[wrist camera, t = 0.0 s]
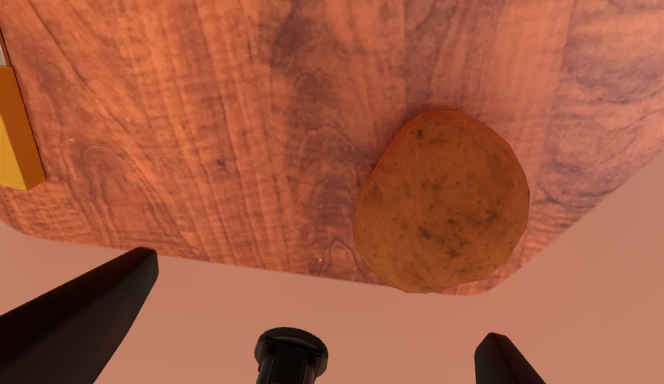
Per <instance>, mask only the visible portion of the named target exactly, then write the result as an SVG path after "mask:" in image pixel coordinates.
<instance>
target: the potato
mask: <svg viewBox="0 0 664 384" xmlns="http://www.w3.org/2000/svg"><path fill="white" fill-rule="evenodd" d="M529 198H530V191H529V187H528V184H527V180H526V176H525V173H524V171H523V169H522V167H521V165H520V164H519V162H518V160H517V158H516V156H515V154H514V153H513V151H512V149H511V147H510V145H509V144H508V143H507V142H506V141H505V140H504V139H503V138H501V137H500V136H499V135H498V134H497V133H496V132H494V131H493V130H492V129H491V128H489V127H487V126H485V125H484V124H482V123H480V122H478V121H476V120H475V119H473V118H471V117H469V116H467V115H466V114H464V113H462V112H460V111H458V110H442V111H425V112H421V113H420V114H419V115H417V116H416V117H415V118H413V119H412V120H411V121H409V122H408V123H407V124H405V125H404V126H403V127H402V128H401V129H400V131H399V132H398V133H397V135H396V136H395V138H394V139H393V140H392V142H391V143H390V145H389V146H388V148H387V149H386V151H385V152H384V154H383V155H382V157H381V158H380V160H379V162H378V163H377V165H376V166H375V168H374V169H373V171H372V173H371V174H370V176H369V177H368V179H367V180H366V182H365V184H364V186H363V188H362V190H361V192H360V195H359V199H358V202H357V206H356V209H355V214H354V223H353V236H354V243H355V245H356V247H357V249H358V251H359V254H360V256H361V258H362V260H363V262H364V263H365V265H366V266H367V268H368V269H369V270H371V271H372V272H373V273H374V274H375V275H377V276H378V277H379V278H380V279H381V280H382V281H384V282H385V283H386V284H388V285H389V286H392V287H394V288H396V289H399V290H401V291H404V292H406V293H424V294H426V293H431V292H435V291H439V290H443V289H446V288H449V287H453V286H456V285H459V284H463V283H468V282H473V281H478V280H482V279H483V278H485V277H486V276H488V275H489V274H491V273H492V272H494V271H495V270H496V269H498V268H499V267H500V266H502V265H503V264H504V263H506V262H507V260H508V259H509V257H510V255H511V253H512V251H513V250H514V248H515V246H516V244H517V243H518V241H519V239H520V238H521V236H522V234H523V233H524V231H525V229H526V227H527V220H528V213H529Z"/></svg>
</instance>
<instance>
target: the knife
mask: <svg viewBox="0 0 664 384" xmlns="http://www.w3.org/2000/svg"><path fill="white" fill-rule="evenodd" d="M45 180H46V177H45V174H44V170H43V167H42V164H41V160H40V157H39V154H38V151H37V147H36V144H35V141H34V137H33V134H32V131H31V127H30V124H29V121H28V117H27V114H26V111H25V107H24V104H23V101H22V98H21V94H20V91H19V88H18V84H17V81H16V78H15V74H14V71H13V68H12V66H11V65H10V61H9V58H8V55H7V52H6V48H5V45H4V42H3V38H2V35H1V32H0V185H3V186H8V187H12V188H16V189H20V190H24V191H28V190H30V189H32V188H33V187H35V186H37V185H38V184H40V183H42V182H43V181H45Z"/></svg>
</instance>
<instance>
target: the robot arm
mask: <svg viewBox="0 0 664 384" xmlns="http://www.w3.org/2000/svg"><path fill="white" fill-rule="evenodd" d="M158 273H159V269H158V259H157V252H156V251H155V250H154V249H150V248H146V247H137V248H135V249H133V250H131V251H129V252H127V253H125V254H123V255H121V256H119V257H117V258H115V259H113V260H111V261H109V262H107V263H105V264H103V265H101V266H99V267H97V268H95V269H93V270H91V271H89V272H87V273H85V274H83V275H81V276H79V277H77V278H75V279H73V280H71V281H69V282H67V283H65V284H63V285H61V286H59V287H57V288H55V289H53V290H51V291H49V292H47V293H45V294H43V295H41V296H39V297H37V298H35V299H33V300H31V301H29V302H27V303H25V304H23V305H21V306H19V307H17V308H15V309H13V310H11V311H9V312H7V313H5V314H3V315H1V316H0V384H93V383H94V382H95V380H96V379H97V377H98V376H99V374H100V373H101V372H102V370H103V369H104V367H105V366H106V364H107V363H108V361H109V360H110V358H111V357H112V355H113V354H114V352H115V351H116V350H117V348H118V347H119V345H120V344H121V342H122V341H123V339H124V337H125V336H126V334H127V333H128V331H129V329H130V328H131V326H132V324H133V322H134V320H135V319H136V317H137V315H138V313H139V311H140V309H141V307H142V306H143V304H144V302H145V300H146V298H147V296H148V294H149V293H150V291H151V289H152V287H153V285H154V283H155V282H156V280H157V277H158ZM323 358H324V351H322V350H320V349H315V348H311V347H307V346H303V345H299V344H295V343H291V342H287V341H282V340H278V339H274V338H270V337H265V338H264V340H263V344H262V349H261V355H260V361H259V367H258V372H259V375H258V378H257V382H256V384H314V382H315V379H316V377H317V374H318V371H319V369H320V366H321V363H322V360H323ZM474 359H475V374H476V384H546V383H545V382H544V381H543V379H542V378H541V377H540V376H539V375H538V373H537V372H536V371H535V370H534V368H533V367H532V366H531V365H530V364H529V362H528V361H527V360H526V359H525V358H524V356H523V355H522V354H521V353H520V352H519V350H518V349H517V348H516V347H515V345H514V344H513V343H512V342H511V340H510V339H509V338H508V337H507V336H505V335H502V334H497V333H493V332H491V333H489V334H488V335H487V336H486V337H485V338H484V340H483V341H482V342H481V343H480V344H479V346H478V347H477V349H476V351H475V356H474Z"/></svg>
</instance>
